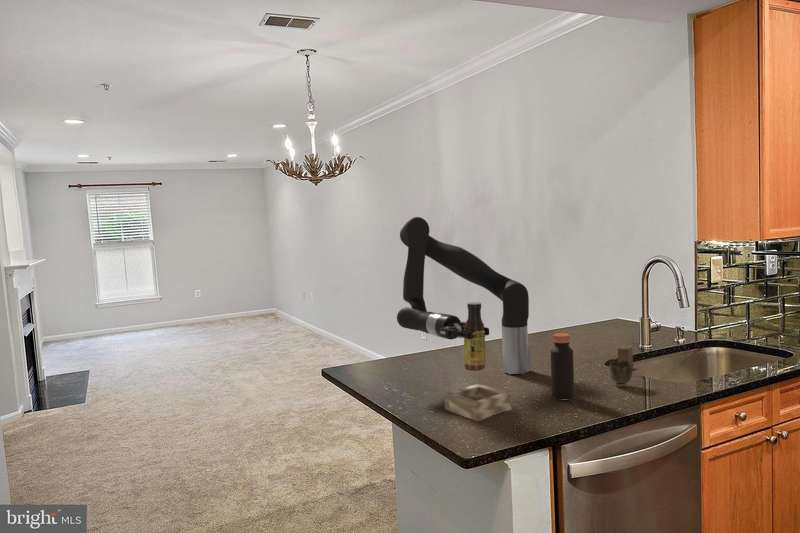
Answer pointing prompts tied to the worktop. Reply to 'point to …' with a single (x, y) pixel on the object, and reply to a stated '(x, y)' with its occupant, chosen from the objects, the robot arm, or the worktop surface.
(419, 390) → the worktop surface
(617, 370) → the cup
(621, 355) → the wooden block
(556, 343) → the vinegar
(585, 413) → the worktop surface
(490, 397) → the socket block
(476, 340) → the sauce bottle
